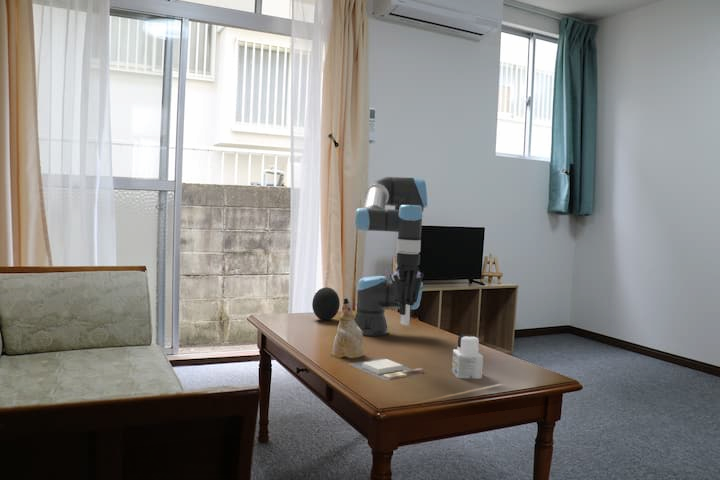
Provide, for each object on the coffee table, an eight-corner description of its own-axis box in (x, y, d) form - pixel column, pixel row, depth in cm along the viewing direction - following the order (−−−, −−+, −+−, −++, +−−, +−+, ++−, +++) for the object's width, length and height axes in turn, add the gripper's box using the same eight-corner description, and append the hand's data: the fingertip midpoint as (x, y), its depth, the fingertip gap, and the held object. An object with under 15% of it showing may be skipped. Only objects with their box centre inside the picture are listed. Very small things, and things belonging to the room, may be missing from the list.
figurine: (340, 361, 188) (343, 302, 187) (325, 353, 197) (328, 297, 196) (369, 358, 194) (372, 300, 193) (354, 350, 203) (356, 295, 202)
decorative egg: (327, 316, 264) (328, 284, 263) (344, 321, 255) (346, 288, 254) (306, 319, 256) (307, 286, 255) (323, 324, 246) (324, 290, 246)
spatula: (418, 370, 180) (418, 367, 180) (425, 372, 177) (425, 369, 177) (382, 376, 171) (382, 373, 171) (388, 379, 169) (389, 376, 168)
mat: (383, 360, 192) (383, 358, 192) (423, 375, 176) (423, 373, 176) (347, 365, 183) (347, 363, 183) (385, 382, 167) (386, 380, 167)
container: (451, 372, 181) (453, 332, 180) (474, 373, 182) (477, 333, 181) (457, 379, 173) (460, 338, 173) (482, 380, 174) (484, 338, 173)
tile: (386, 359, 185) (362, 362, 179) (402, 365, 179) (377, 369, 173) (386, 363, 185) (362, 367, 179) (402, 370, 179) (377, 374, 173)
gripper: (415, 250, 189) (412, 320, 191) (385, 251, 181) (381, 323, 183) (431, 253, 183) (427, 324, 185) (400, 254, 175) (396, 328, 177)
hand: (404, 324), depth 184 cm, fingers closed
